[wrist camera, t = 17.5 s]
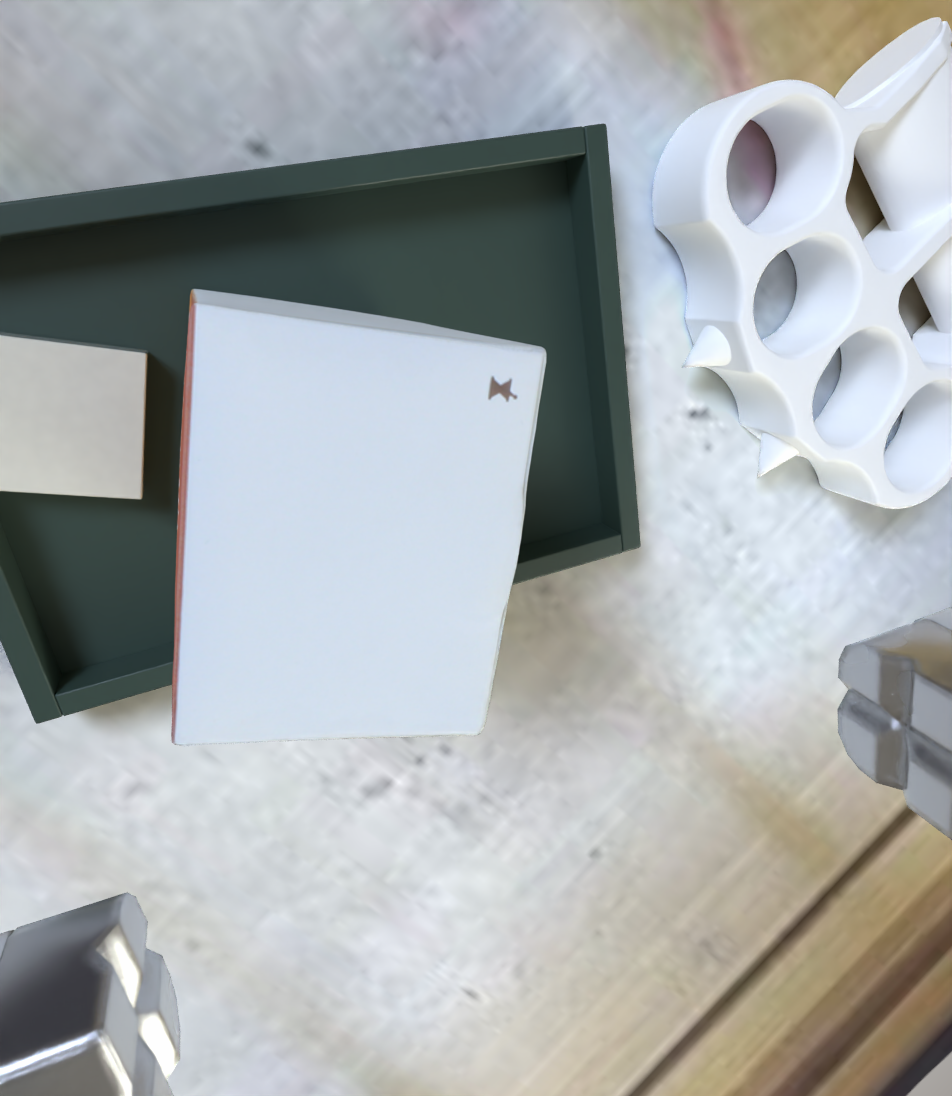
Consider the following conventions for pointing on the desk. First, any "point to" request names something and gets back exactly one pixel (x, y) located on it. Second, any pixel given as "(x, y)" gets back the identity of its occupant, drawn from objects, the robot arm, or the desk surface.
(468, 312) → the tray
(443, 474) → the small box
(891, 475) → the white brass knuckles
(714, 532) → the desk surface
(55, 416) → the chalk block
